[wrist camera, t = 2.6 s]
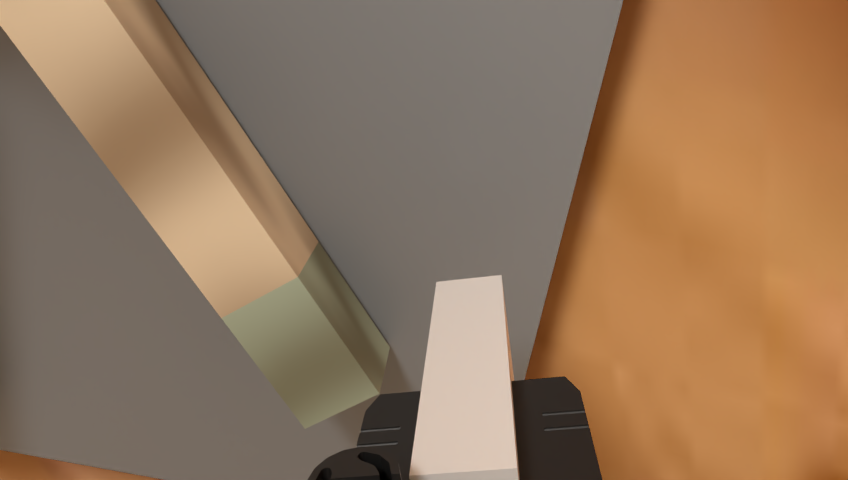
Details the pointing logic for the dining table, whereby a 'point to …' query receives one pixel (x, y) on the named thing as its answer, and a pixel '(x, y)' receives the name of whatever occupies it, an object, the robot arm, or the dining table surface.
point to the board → (316, 203)
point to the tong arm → (205, 194)
